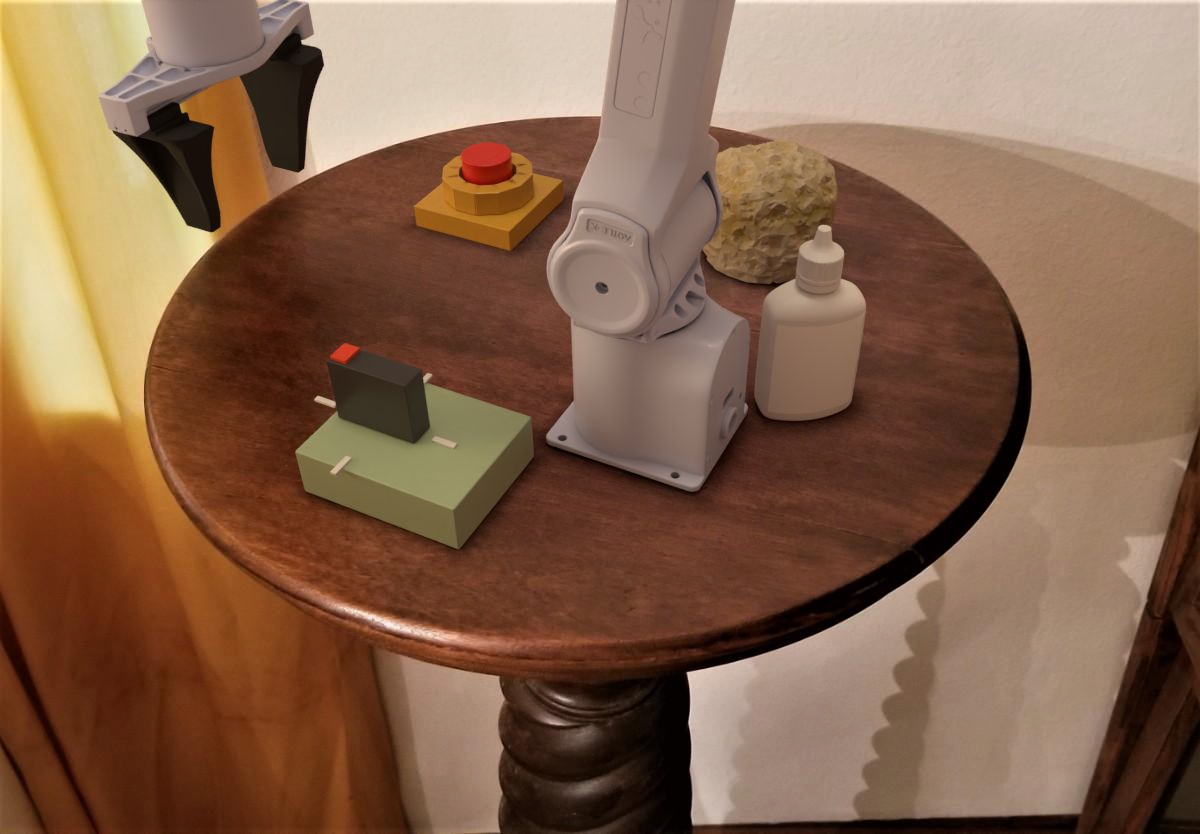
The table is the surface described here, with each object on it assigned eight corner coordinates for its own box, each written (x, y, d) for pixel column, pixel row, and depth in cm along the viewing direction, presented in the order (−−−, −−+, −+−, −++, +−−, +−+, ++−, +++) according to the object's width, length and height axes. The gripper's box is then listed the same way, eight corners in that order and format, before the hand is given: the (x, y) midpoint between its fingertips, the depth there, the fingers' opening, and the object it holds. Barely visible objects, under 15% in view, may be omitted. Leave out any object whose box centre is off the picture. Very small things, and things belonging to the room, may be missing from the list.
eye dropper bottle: (842, 436, 66) (872, 258, 58) (747, 416, 67) (763, 241, 59) (855, 390, 69) (884, 215, 61) (763, 372, 70) (780, 200, 63)
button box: (564, 199, 87) (562, 157, 84) (510, 251, 81) (507, 208, 79) (473, 177, 89) (469, 136, 87) (416, 226, 84) (410, 183, 82)
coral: (711, 292, 77) (717, 191, 72) (687, 221, 84) (690, 125, 79) (845, 281, 78) (861, 181, 73) (810, 212, 85) (821, 116, 80)
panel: (539, 450, 65) (537, 407, 63) (453, 558, 59) (446, 515, 57) (372, 394, 69) (364, 352, 67) (274, 489, 63) (262, 446, 61)
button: (521, 170, 84) (520, 148, 83) (496, 192, 81) (495, 170, 80) (479, 159, 85) (477, 138, 84) (453, 181, 83) (451, 159, 82)
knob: (430, 426, 62) (421, 365, 60) (414, 444, 61) (404, 382, 58) (355, 401, 64) (343, 340, 61) (338, 417, 63) (324, 356, 60)
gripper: (225, -88, 66) (273, 131, 74) (23, -2, 56) (107, 238, 65) (324, -72, 63) (362, 153, 72) (132, 21, 53) (203, 268, 62)
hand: (247, 195), depth 68 cm, fingers open, 7 cm apart
